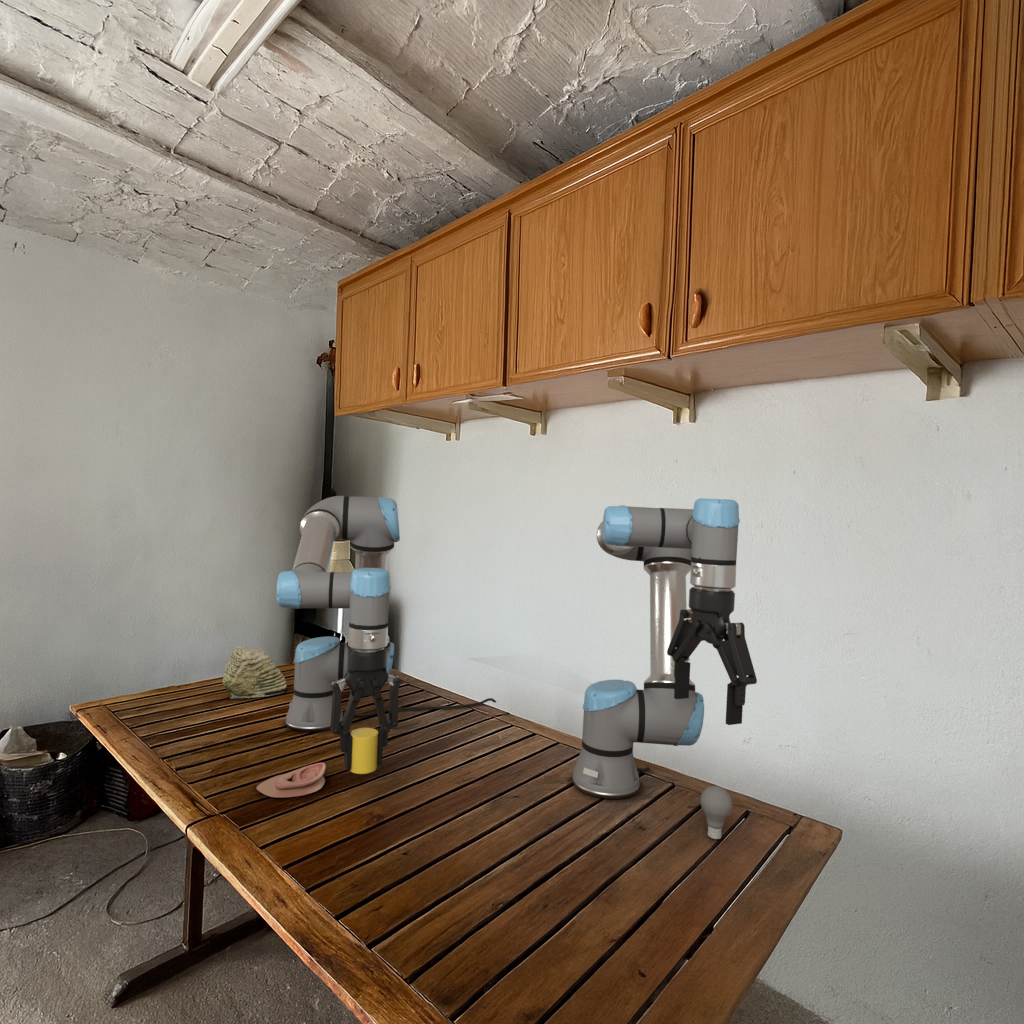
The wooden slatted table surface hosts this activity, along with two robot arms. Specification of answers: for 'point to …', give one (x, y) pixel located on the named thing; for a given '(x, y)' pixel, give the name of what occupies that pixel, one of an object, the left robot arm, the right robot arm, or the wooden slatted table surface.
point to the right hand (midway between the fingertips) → (706, 710)
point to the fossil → (252, 674)
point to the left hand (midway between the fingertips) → (363, 764)
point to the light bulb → (715, 809)
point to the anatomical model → (295, 782)
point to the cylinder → (364, 750)
